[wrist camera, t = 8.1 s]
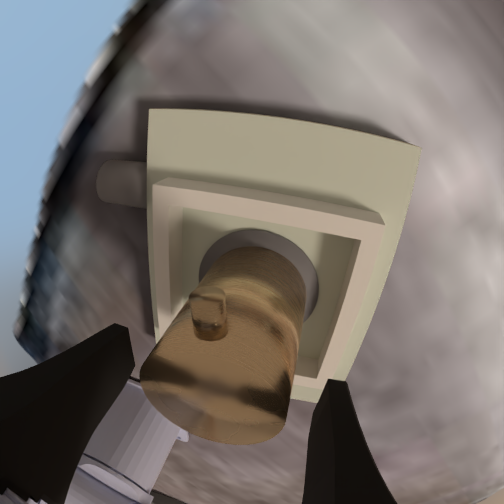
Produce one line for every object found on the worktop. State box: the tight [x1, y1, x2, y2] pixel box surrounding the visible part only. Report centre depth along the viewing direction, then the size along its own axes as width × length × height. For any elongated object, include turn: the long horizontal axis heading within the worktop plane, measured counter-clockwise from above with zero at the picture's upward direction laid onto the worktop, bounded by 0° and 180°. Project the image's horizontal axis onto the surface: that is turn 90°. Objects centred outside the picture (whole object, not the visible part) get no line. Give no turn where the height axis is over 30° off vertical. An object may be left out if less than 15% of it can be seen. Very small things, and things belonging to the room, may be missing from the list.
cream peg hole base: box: [96, 108, 422, 403], centre depth 16 cm, size 15×16×4 cm
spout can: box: [140, 246, 307, 445], centre depth 12 cm, size 5×6×7 cm
